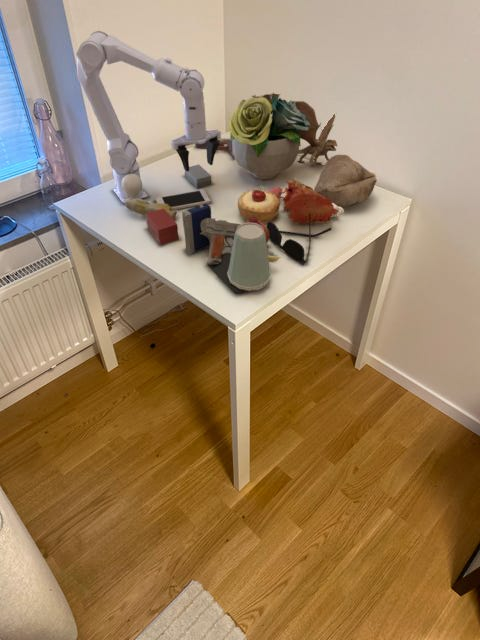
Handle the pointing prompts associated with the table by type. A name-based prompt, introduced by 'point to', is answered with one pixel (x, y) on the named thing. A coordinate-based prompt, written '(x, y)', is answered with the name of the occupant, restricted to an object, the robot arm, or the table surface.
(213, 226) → the pistol
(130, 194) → the light bulb
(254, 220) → the fruit
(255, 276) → the disposable coffee cup
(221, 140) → the handgun
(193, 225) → the cassette player
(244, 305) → the table surface
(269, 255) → the toy
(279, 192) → the figurine
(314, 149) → the dragon
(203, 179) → the grey stack
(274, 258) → the fox
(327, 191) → the seashell
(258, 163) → the flower arrangement
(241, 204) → the pastry
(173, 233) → the oxblood stack
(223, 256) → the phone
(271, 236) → the sunglasses
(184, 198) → the smartphone
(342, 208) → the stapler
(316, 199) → the seashell
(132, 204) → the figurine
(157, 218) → the oxblood book
